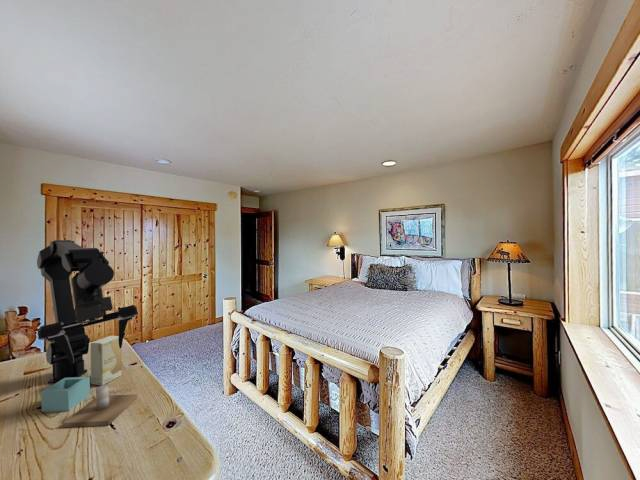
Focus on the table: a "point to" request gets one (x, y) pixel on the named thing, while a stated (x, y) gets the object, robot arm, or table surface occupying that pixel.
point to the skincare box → (105, 360)
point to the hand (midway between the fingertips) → (97, 355)
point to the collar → (65, 394)
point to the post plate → (100, 415)
